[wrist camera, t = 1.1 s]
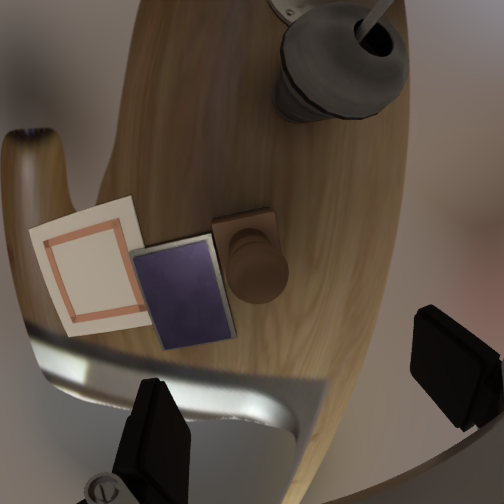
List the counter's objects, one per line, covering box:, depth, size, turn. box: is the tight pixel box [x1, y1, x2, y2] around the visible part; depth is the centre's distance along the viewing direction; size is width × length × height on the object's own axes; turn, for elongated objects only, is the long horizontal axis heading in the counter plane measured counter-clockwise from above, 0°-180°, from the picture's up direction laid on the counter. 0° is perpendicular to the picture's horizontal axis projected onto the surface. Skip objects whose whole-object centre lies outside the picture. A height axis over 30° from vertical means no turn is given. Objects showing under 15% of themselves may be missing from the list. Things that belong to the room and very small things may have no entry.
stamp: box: [212, 207, 289, 304], centre depth 22 cm, size 5×5×11 cm
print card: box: [29, 195, 152, 337], centre depth 27 cm, size 13×13×1 cm
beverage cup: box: [272, 0, 409, 123], centre depth 15 cm, size 7×7×20 cm
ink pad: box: [128, 231, 237, 351], centre depth 28 cm, size 11×8×2 cm
